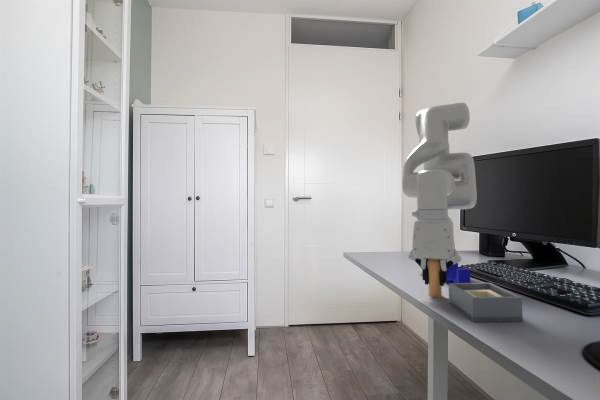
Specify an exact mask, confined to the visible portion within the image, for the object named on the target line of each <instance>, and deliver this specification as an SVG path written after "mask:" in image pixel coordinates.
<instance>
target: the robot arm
mask: <svg viewBox="0 0 600 400" xmlns="http://www.w3.org/2000/svg"><path fill="white" fill-rule="evenodd" d="M470 115H471V113H470V110H469V107H468V104H467V103H465V102H456V103H455V102H454V103H448V104H442V105H435V106H430V107H426V108H424V109H423V108H422V109H420V110H419V111H418V112H416V115H415V120H414V121H415V127H416V132H417V134H418V138H419V142H418V144H419V145H417V146H416V147H415V148H414V149H413V150H412V151H411V153H409V155H408V156H407V158H406V159H405V161H404V163H403V168H402V180H401V181H402V183H401V184H402V192H403V194H404V195H405V196H406V197H408V198H414V199H415V198H416V201H417V203H416V204H417V205H416V207H417V209H416V211H412V212H411V215H412V217H414V218H416V219H417V220H415V221H414V222H413V223H414V224H413V230H412V249H411V250H410V252H409V254H408V255H407V256H408V259H409V260H412V261H414V262H415V263H416V264H417V265H418V266H419V267H420V269H419V274H420V275H421V276H422V281H424V285H428V284H429V283H428V259H438V260H440V262H441V271H440V286H441V287H444V286H445V284H446V283H447V269H448V268H449V267H451V266H452V265H454V264H456V263H458V264H459V263H460V262H461V261H463V260H462V257H461V255H460V254H459V252H458V251H457V249H456V245H455V236H454V222H453V219H452V218H451V217H450V216H449V212H448V211H449V210H468V209H469V210H470V209H473V208H474V207H475V206H476V205H477V202H478V201H477V199H478V198H477V197H478V195H477V192H478V191H477V182H476V178H477V177H476V167H475V161H474V158H473V156H472V154H470V153H469V152H451V153H450V143H449V131H461V130H465V129H467V128H468V126H469V125H470V124H469V123H470ZM421 165H423V170H420V171H418V172H417V171H416V172H415V170H416V169H417V168H418V167H419V166H421ZM447 261H448V262H447Z"/></svg>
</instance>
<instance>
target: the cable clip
mask: <svg viewBox="0 0 600 400" xmlns="http://www.w3.org/2000/svg"><path fill="white" fill-rule="evenodd" d="M447 262H448V261H447ZM449 283H471V269H470V268H459V262H458V263H456V264H454V265H452V266H451V267H449V268H448V269H447V283H445V284H446V285H448V286H449Z"/></svg>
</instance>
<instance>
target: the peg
mask: <svg viewBox="0 0 600 400" xmlns="http://www.w3.org/2000/svg"><path fill="white" fill-rule="evenodd" d="M440 271H441V262H440V260H438V259H428V283H429V284H427V285H428V296H429V297H431V298H441V297H442V296H443V291H442V286H440Z"/></svg>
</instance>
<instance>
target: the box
mask: <svg viewBox="0 0 600 400" xmlns="http://www.w3.org/2000/svg"><path fill="white" fill-rule="evenodd" d="M448 304H449V305H451V306H452V307H453V308H454V309H456V310H457V311H458V312H460V313H461V314H462V315H463V316H465V317H466V318H468V320H470V321H471V322H472V323H506V322H508V323H509V322H510V323H513V322H515V323H517V322H518V323H520V322H523V321H524V320H523V297H522V296H519V295H517V294H515V293H513V292H511V291H509V290H507V289H504V288H503V287H500V286H498V285H496V284H495V283H494V284H493V283H492V282H470V283H449V285H448Z"/></svg>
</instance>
